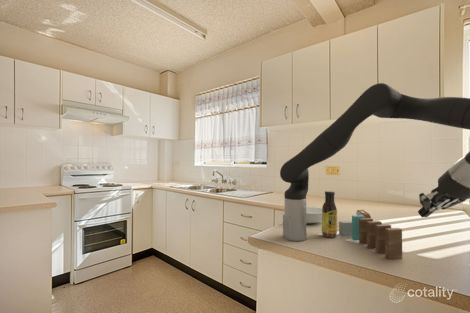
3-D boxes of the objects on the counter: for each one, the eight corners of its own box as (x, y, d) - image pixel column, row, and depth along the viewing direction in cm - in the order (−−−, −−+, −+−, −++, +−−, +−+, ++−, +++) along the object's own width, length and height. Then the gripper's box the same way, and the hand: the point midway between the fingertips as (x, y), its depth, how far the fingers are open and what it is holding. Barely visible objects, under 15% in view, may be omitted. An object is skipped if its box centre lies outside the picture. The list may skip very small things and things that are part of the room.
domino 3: (381, 248, 87) (381, 222, 87) (369, 248, 87) (369, 222, 87) (378, 246, 89) (378, 220, 89) (367, 247, 88) (366, 221, 88)
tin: (373, 233, 106) (373, 214, 106) (365, 232, 106) (365, 214, 106) (362, 224, 120) (361, 208, 121) (355, 223, 121) (355, 208, 121)
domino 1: (365, 239, 96) (365, 216, 97) (354, 240, 96) (354, 216, 96) (362, 238, 98) (362, 215, 98) (352, 239, 97) (351, 215, 98)
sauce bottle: (330, 239, 97) (329, 192, 98) (318, 235, 103) (318, 191, 103) (340, 236, 100) (340, 191, 101) (328, 232, 106) (328, 190, 106)
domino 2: (373, 243, 92) (372, 218, 92) (361, 244, 91) (361, 219, 91) (370, 242, 93) (370, 218, 94) (359, 242, 93) (358, 218, 93)
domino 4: (391, 253, 83) (391, 225, 83) (379, 253, 82) (378, 225, 82) (388, 251, 84) (387, 224, 85) (375, 251, 84) (375, 224, 84)
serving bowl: (331, 227, 114) (331, 214, 114) (288, 226, 117) (288, 212, 117) (322, 217, 135) (321, 205, 135) (286, 216, 138) (285, 204, 138)
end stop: (361, 235, 102) (361, 222, 102) (342, 236, 101) (342, 222, 101) (357, 233, 105) (357, 220, 105) (339, 234, 104) (338, 221, 104)
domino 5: (402, 258, 78) (401, 229, 78) (389, 259, 78) (388, 229, 78) (398, 256, 80) (398, 227, 80) (385, 257, 79) (385, 228, 79)
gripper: (477, 165, 60) (432, 203, 72) (432, 166, 58) (394, 204, 70) (503, 188, 55) (450, 225, 67) (455, 189, 53) (409, 226, 65)
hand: (421, 214), depth 68 cm, fingers closed
